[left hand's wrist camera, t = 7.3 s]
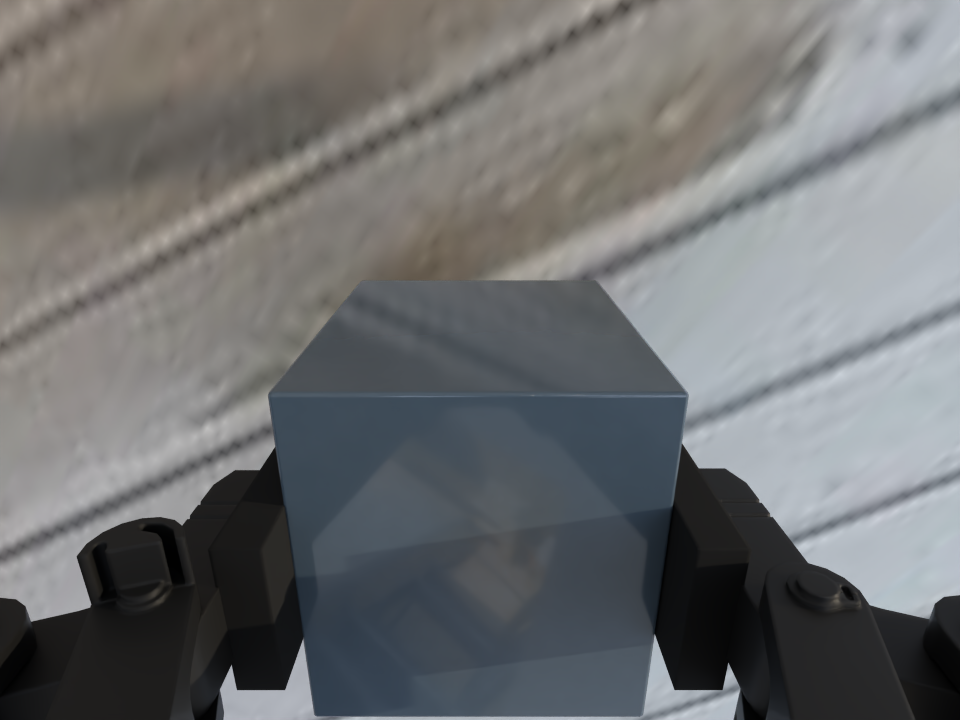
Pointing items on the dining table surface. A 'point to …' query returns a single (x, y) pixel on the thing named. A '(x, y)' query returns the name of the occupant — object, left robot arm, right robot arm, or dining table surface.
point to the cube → (478, 500)
